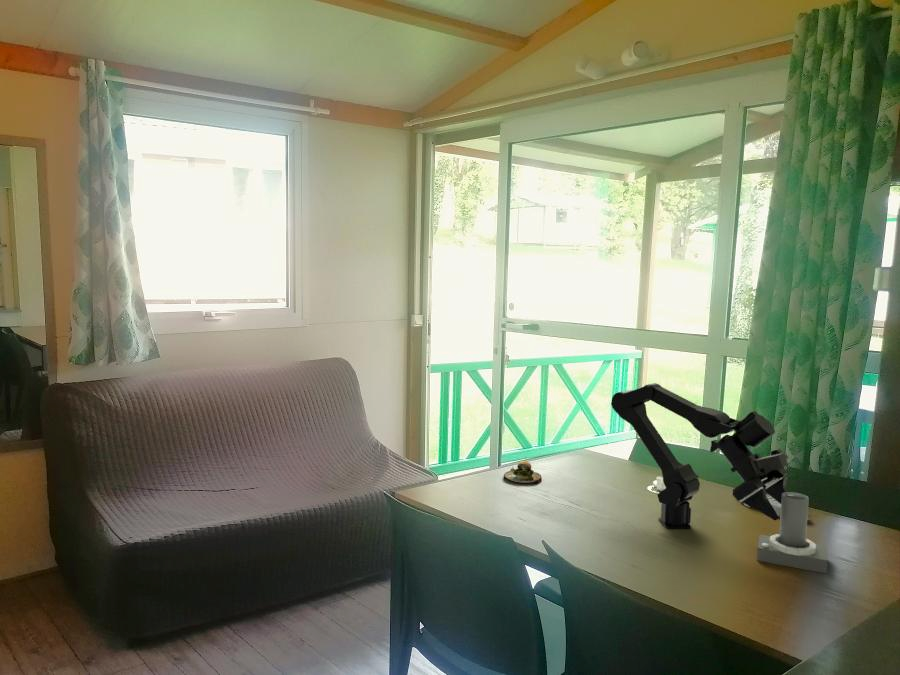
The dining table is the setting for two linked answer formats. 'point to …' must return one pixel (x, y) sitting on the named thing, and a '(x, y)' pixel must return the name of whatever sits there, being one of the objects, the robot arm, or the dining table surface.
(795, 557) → the grey rectangular block
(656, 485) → the teacup and saucer
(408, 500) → the dining table surface
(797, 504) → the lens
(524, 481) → the brown round piece
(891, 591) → the dining table surface
